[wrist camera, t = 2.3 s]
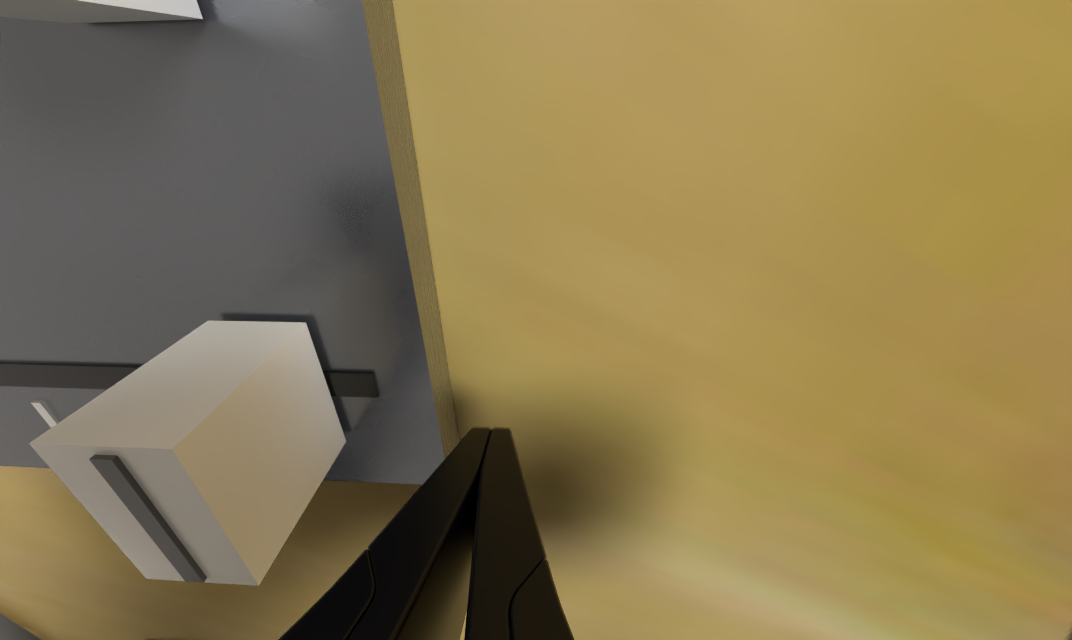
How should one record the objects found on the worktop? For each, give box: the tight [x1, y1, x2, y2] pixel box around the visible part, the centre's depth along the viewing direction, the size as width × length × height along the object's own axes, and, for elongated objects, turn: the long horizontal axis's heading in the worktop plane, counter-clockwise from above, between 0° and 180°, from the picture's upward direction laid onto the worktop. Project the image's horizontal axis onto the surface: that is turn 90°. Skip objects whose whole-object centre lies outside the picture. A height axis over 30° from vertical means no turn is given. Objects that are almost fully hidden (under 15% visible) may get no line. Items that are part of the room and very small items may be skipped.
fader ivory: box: [29, 321, 346, 586], centre depth 10 cm, size 4×2×4 cm, turn 1°
